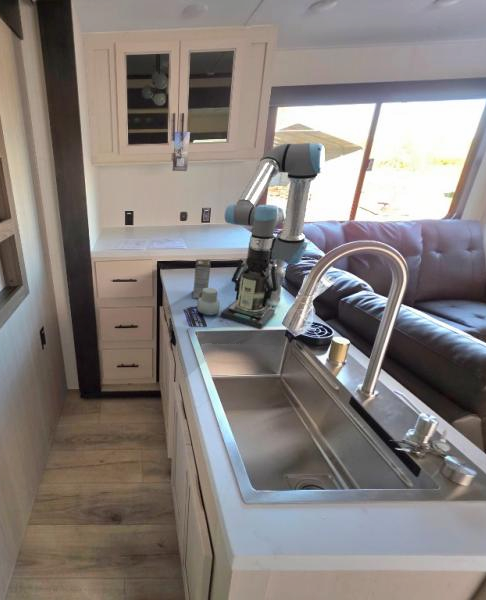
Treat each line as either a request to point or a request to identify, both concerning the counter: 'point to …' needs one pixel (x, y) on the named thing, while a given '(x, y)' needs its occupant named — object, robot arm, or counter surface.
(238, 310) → the scale pan
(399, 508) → the counter surface
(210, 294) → the air freshener
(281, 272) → the plastic bottle
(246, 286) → the coffee can
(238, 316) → the scale
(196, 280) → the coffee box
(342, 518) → the counter surface
